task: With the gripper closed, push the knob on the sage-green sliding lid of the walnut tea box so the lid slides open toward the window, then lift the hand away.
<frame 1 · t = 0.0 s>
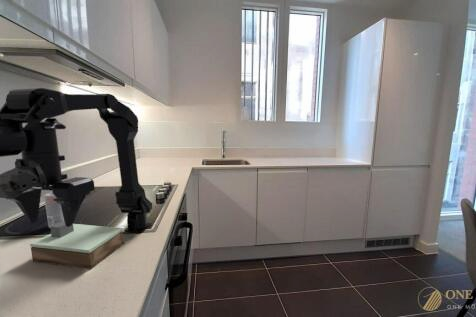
hand: (51, 224, 47), 15 cm above the worktop, tool pointing down, fingers open, 9 cm apart
lid: (78, 231, 62), point 6 cm above the worktop, slide at 0.0 cm
tea box: (81, 252, 63), on the worktop
energy drink: (58, 226, 80), on the worktop
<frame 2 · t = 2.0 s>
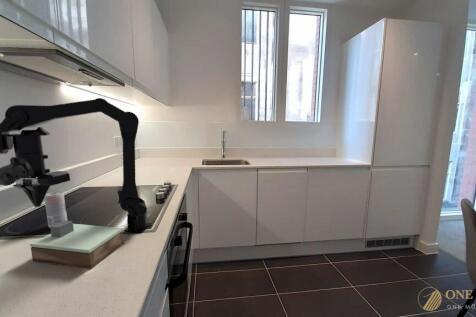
hand: (37, 206, 63), 13 cm above the worktop, tool pointing down, fingers closed
nothing on the worktop moved.
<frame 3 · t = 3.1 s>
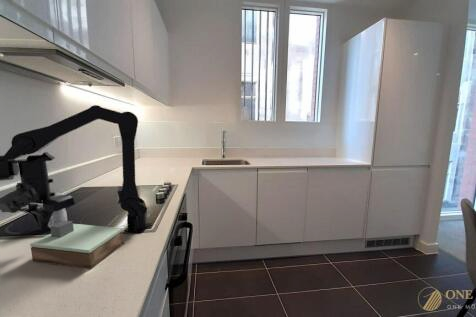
hand: (42, 229, 64), 6 cm above the worktop, tool pointing down, fingers closed
nothing on the worktop moved.
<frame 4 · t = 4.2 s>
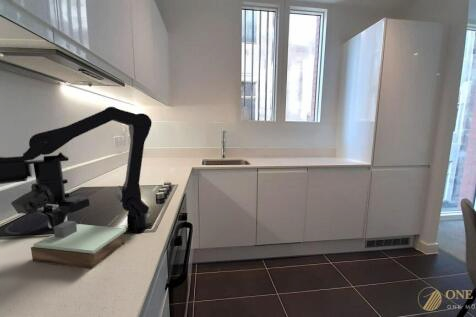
hand: (57, 231, 64), 6 cm above the worktop, tool pointing down, fingers closed
lid: (82, 232, 62), point 6 cm above the worktop, slide at 1.1 cm, touching gripper
everything else where it was.
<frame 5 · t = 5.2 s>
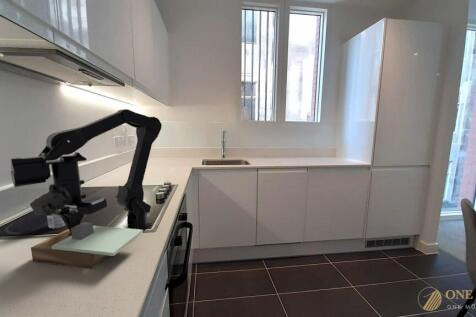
hand: (74, 232, 62), 6 cm above the worktop, tool pointing down, fingers closed
lid: (99, 233, 61), point 6 cm above the worktop, slide at 6.8 cm, touching gripper
everything else where it was.
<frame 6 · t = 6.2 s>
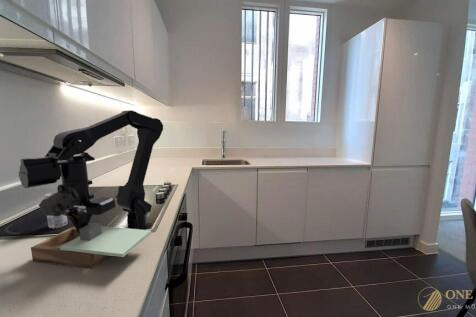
hand: (81, 233, 62), 6 cm above the worktop, tool pointing down, fingers closed
lid: (108, 234, 60), point 6 cm above the worktop, slide at 9.4 cm, touching gripper
everything else where it was.
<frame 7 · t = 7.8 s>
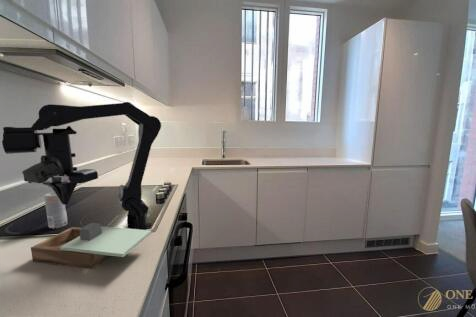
hand: (65, 204, 64), 13 cm above the worktop, tool pointing down, fingers closed
lid: (108, 234, 60), point 6 cm above the worktop, slide at 9.4 cm
everything else where it was.
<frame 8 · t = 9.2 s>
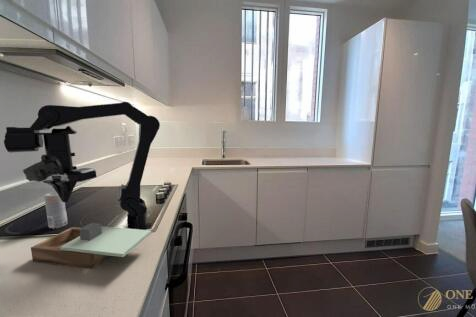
hand: (65, 201, 66), 13 cm above the worktop, tool pointing down, fingers closed
nothing on the worktop moved.
at the end: lid slide at 9.4 cm; energy drink moved 0.2 cm from its start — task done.
